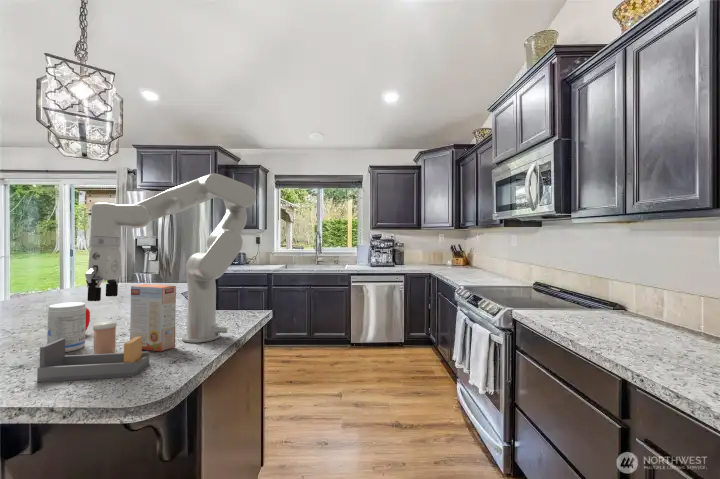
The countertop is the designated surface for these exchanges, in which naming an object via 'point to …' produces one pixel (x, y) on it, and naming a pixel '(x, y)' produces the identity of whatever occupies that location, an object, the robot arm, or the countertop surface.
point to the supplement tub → (67, 324)
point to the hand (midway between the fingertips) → (103, 298)
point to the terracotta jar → (104, 337)
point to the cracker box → (153, 316)
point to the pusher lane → (84, 364)
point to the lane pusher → (133, 350)
